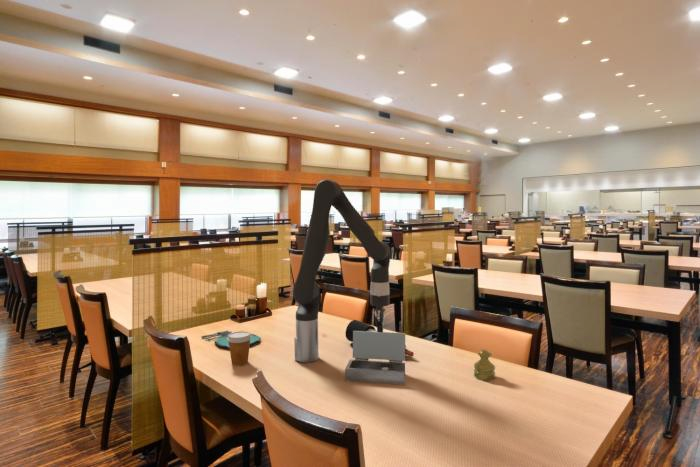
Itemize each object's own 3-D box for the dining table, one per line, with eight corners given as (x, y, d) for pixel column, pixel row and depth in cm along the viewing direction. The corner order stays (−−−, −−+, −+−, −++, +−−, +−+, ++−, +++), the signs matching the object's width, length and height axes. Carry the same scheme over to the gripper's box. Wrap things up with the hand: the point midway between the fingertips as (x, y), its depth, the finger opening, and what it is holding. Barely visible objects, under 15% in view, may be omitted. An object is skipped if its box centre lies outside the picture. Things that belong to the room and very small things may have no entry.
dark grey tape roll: (377, 380, 145) (377, 370, 145) (379, 374, 150) (379, 365, 150) (390, 381, 144) (390, 371, 143) (392, 376, 148) (392, 366, 148)
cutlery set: (230, 354, 174) (230, 349, 174) (197, 340, 194) (196, 335, 194) (267, 342, 189) (267, 338, 189) (233, 330, 209) (232, 326, 209)
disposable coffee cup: (256, 360, 165) (256, 332, 164) (241, 369, 156) (240, 339, 155) (238, 357, 169) (237, 329, 168) (222, 365, 160) (221, 336, 159)
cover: (353, 331, 154) (353, 330, 156) (352, 359, 153) (353, 358, 154) (405, 333, 150) (405, 333, 152) (405, 362, 149) (405, 361, 151)
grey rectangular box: (345, 380, 145) (345, 368, 144) (349, 370, 154) (349, 359, 154) (403, 384, 141) (403, 372, 141) (405, 374, 150) (405, 362, 150)
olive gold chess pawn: (494, 374, 149) (495, 348, 149) (495, 382, 142) (495, 354, 142) (474, 371, 152) (474, 346, 151) (473, 379, 145) (473, 352, 144)
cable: (408, 371, 164) (403, 354, 159) (348, 345, 186) (343, 329, 182) (420, 355, 170) (416, 337, 165) (361, 331, 192) (356, 315, 188)
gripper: (372, 289, 163) (372, 331, 163) (368, 296, 150) (368, 341, 150) (390, 289, 161) (390, 331, 162) (388, 296, 148) (388, 342, 149)
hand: (380, 336), depth 156 cm, fingers closed
